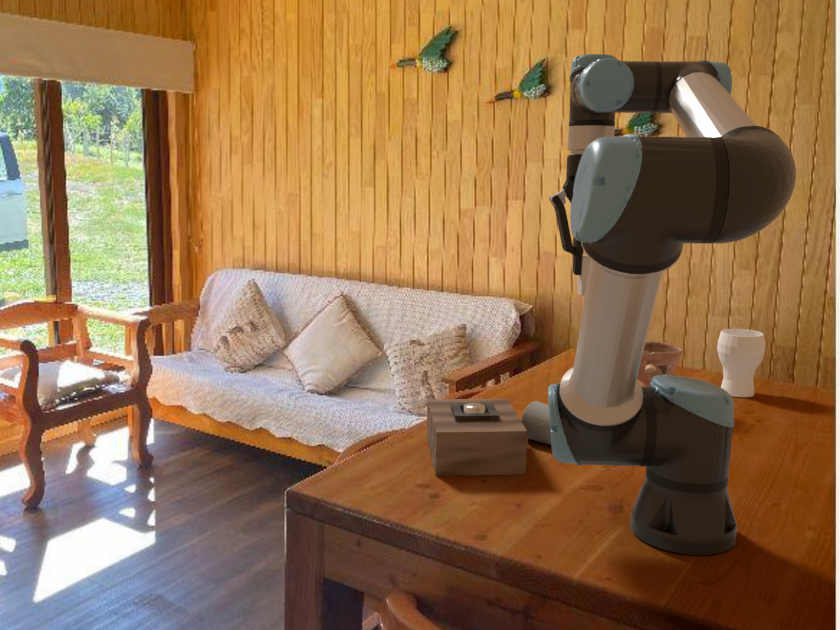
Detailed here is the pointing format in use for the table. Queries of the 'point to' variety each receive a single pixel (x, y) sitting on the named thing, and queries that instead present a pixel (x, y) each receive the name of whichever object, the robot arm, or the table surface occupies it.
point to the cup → (740, 359)
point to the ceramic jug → (657, 361)
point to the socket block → (475, 438)
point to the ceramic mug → (537, 422)
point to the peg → (474, 408)
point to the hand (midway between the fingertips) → (583, 294)
